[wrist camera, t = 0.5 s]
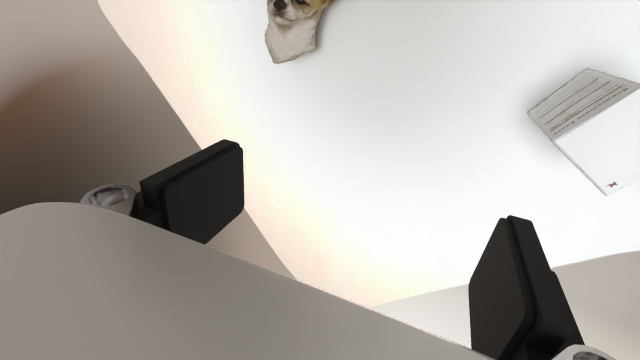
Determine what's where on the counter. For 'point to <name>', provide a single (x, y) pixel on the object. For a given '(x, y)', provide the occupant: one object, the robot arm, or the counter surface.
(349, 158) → the counter surface
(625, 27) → the counter surface
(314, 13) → the ceramic sculpture
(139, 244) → the robot arm
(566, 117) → the supplement box
